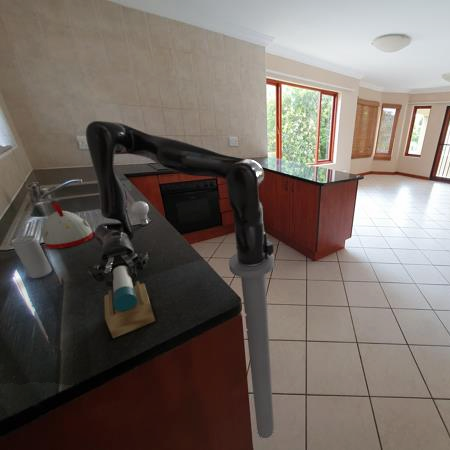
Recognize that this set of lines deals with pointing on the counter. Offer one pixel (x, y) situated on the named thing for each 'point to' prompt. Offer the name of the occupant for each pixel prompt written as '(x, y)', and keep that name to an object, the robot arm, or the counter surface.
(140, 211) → the lightbulb
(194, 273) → the counter surface
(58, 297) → the counter surface
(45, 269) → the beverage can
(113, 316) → the cradle
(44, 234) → the kitchen timer
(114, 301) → the marker
